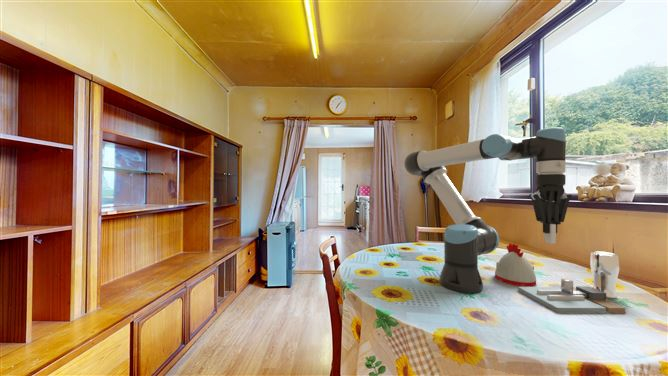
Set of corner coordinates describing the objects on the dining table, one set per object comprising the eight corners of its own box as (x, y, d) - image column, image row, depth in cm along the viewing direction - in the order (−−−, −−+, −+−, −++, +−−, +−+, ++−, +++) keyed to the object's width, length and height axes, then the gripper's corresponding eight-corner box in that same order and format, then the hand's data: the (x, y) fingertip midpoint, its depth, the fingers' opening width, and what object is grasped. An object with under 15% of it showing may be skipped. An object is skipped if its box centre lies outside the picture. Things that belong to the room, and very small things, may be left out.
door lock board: (557, 312, 75) (557, 299, 75) (518, 290, 91) (518, 280, 91) (625, 313, 75) (625, 300, 75) (574, 291, 91) (574, 280, 91)
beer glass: (625, 300, 84) (625, 256, 84) (601, 298, 85) (601, 255, 85) (607, 291, 91) (607, 251, 91) (585, 290, 92) (585, 250, 92)
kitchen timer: (518, 274, 109) (518, 241, 109) (545, 286, 95) (545, 248, 95) (487, 274, 109) (487, 241, 109) (511, 286, 95) (511, 248, 95)
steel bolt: (566, 297, 81) (566, 282, 81) (558, 293, 84) (558, 278, 84) (596, 297, 81) (596, 282, 81) (587, 293, 84) (587, 278, 84)
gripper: (540, 173, 79) (540, 245, 79) (580, 173, 79) (580, 245, 79) (522, 174, 87) (522, 240, 87) (559, 174, 87) (558, 240, 87)
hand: (549, 242), depth 83 cm, fingers closed
